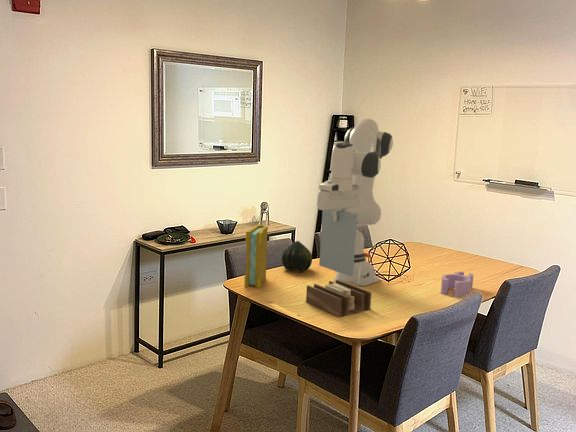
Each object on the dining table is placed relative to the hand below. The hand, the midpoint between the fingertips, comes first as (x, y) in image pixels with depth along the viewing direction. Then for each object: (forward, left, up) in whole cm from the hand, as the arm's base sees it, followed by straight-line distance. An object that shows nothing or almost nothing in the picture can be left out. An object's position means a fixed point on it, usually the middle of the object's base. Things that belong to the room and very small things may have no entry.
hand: (338, 220), depth 226 cm
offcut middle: (-2, 0, -33) cm, 33 cm away
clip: (-67, +10, -37) cm, 77 cm away
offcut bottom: (-2, 0, -35) cm, 35 cm away
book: (+5, -47, -37) cm, 60 cm away
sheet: (0, 0, -20) cm, 20 cm away
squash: (-23, -54, -37) cm, 70 cm away
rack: (-2, 0, -37) cm, 37 cm away
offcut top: (-2, -1, -30) cm, 30 cm away
